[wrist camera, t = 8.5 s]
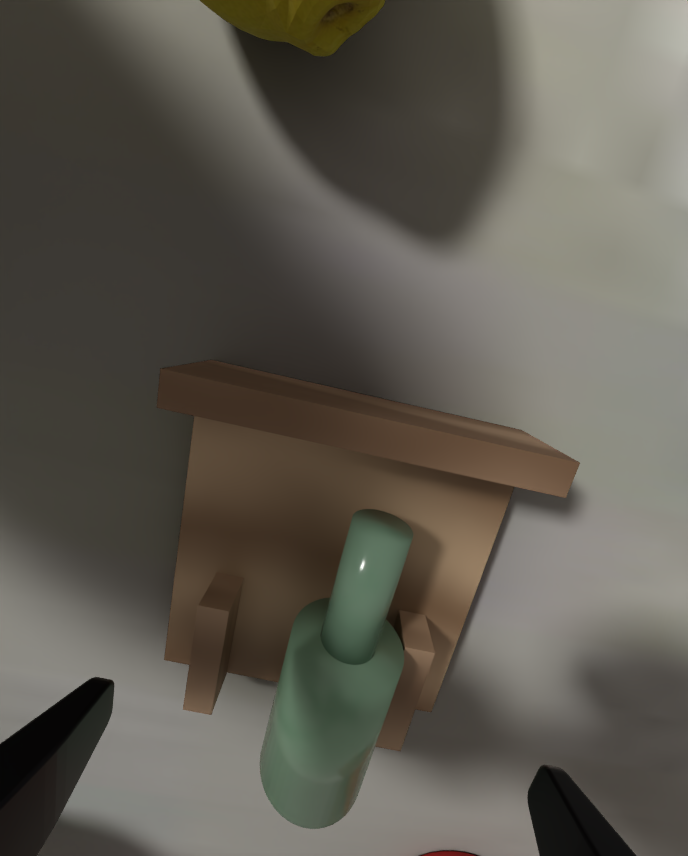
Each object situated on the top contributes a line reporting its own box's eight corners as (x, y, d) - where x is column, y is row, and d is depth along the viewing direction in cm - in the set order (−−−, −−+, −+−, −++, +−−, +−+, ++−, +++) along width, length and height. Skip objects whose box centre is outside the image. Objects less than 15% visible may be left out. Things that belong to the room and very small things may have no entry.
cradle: (427, 692, 19) (446, 787, 15) (174, 642, 18) (125, 726, 14) (521, 430, 15) (579, 462, 11) (211, 359, 15) (160, 368, 11)
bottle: (380, 800, 15) (472, 559, 12) (276, 851, 13) (358, 573, 10) (335, 697, 18) (397, 495, 16) (249, 723, 16) (303, 494, 14)
